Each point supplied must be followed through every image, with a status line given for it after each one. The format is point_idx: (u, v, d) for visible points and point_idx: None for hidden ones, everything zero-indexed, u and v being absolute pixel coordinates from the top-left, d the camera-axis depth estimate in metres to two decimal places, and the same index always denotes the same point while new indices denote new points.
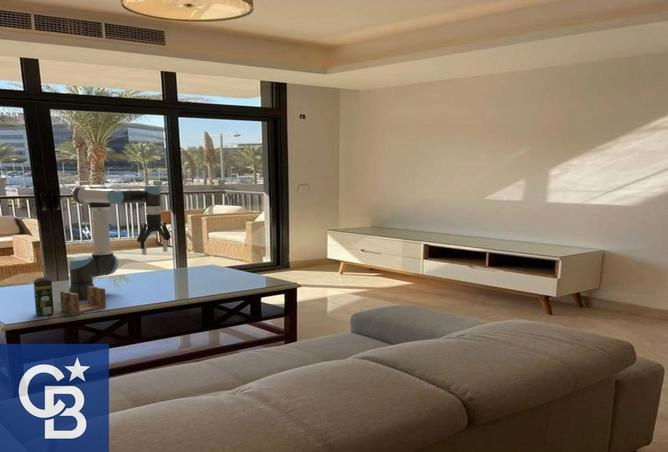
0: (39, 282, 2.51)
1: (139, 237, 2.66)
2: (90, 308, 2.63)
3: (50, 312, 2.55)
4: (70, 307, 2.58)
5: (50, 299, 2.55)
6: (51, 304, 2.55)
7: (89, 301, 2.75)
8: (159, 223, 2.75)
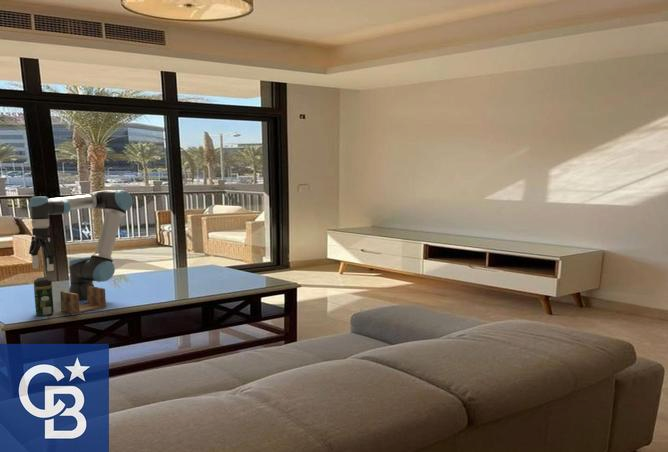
0: (39, 282, 2.51)
1: None
2: (90, 308, 2.63)
3: (50, 312, 2.55)
4: (70, 307, 2.58)
5: (50, 299, 2.55)
6: (51, 304, 2.55)
7: (89, 301, 2.75)
8: (42, 238, 2.51)
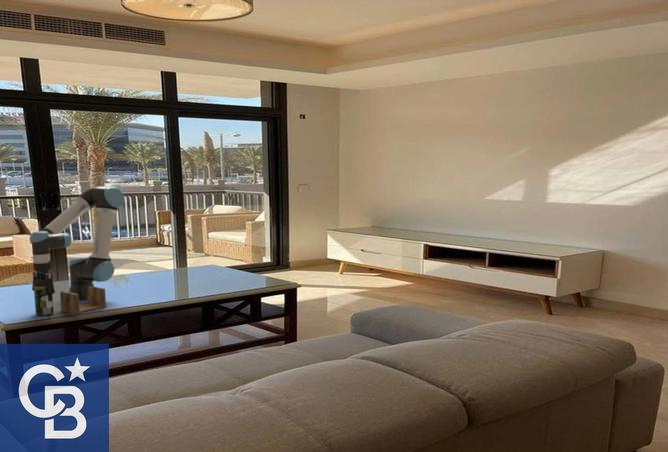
0: (39, 282, 2.51)
1: None
2: (90, 308, 2.63)
3: (50, 312, 2.55)
4: (70, 307, 2.58)
5: None
6: None
7: (89, 301, 2.75)
8: (43, 273, 2.53)
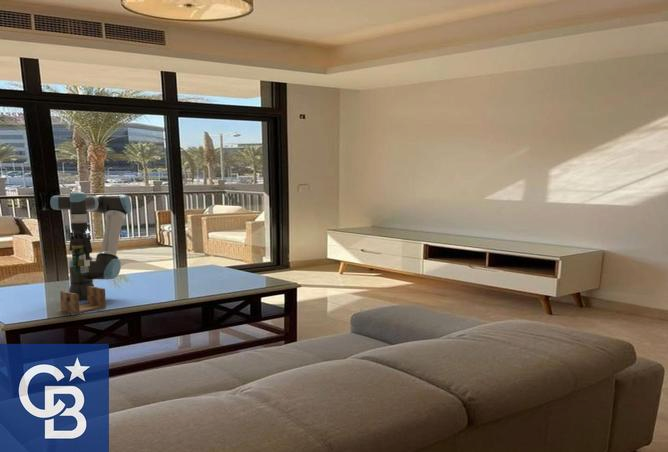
0: (77, 241, 2.58)
1: None
2: (90, 308, 2.63)
3: (87, 271, 2.62)
4: (70, 307, 2.58)
5: None
6: None
7: (89, 301, 2.75)
8: (80, 232, 2.60)
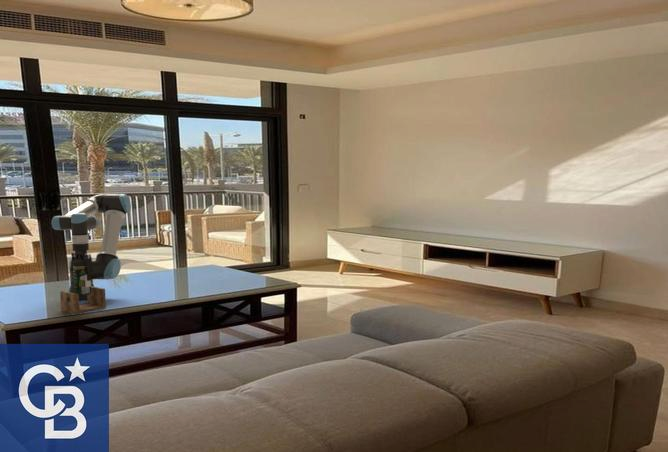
0: (78, 262, 2.59)
1: None
2: (90, 308, 2.63)
3: (88, 291, 2.63)
4: (70, 307, 2.58)
5: None
6: None
7: (89, 301, 2.75)
8: (82, 253, 2.61)
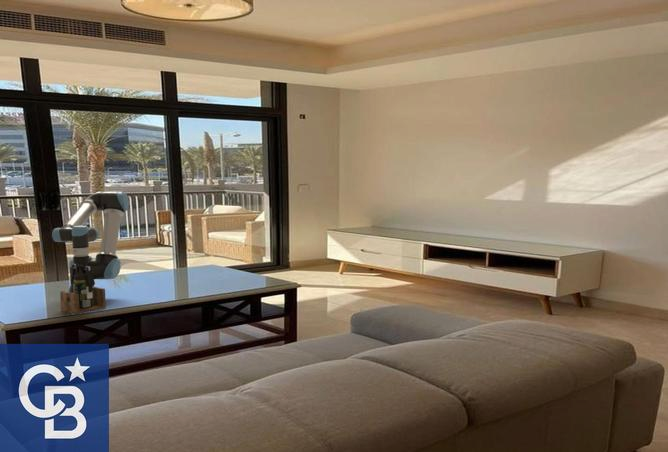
0: (79, 276, 2.60)
1: None
2: (90, 308, 2.63)
3: (89, 305, 2.64)
4: (70, 307, 2.58)
5: None
6: (90, 298, 2.65)
7: None
8: (82, 266, 2.62)
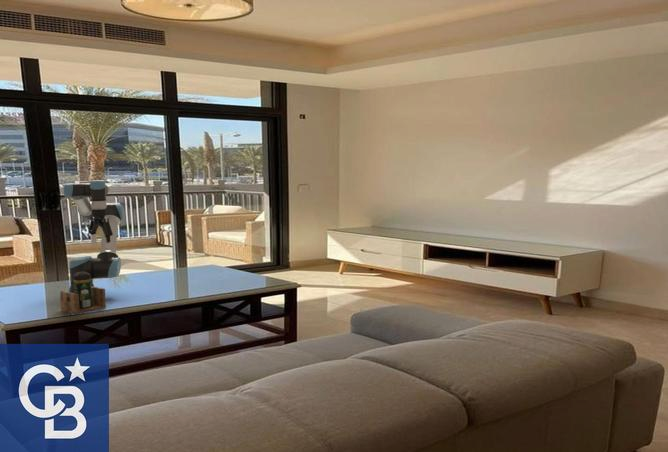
0: (79, 276, 2.60)
1: None
2: (90, 308, 2.63)
3: (89, 305, 2.64)
4: (70, 307, 2.58)
5: (89, 292, 2.64)
6: (90, 298, 2.65)
7: None
8: (100, 218, 2.74)
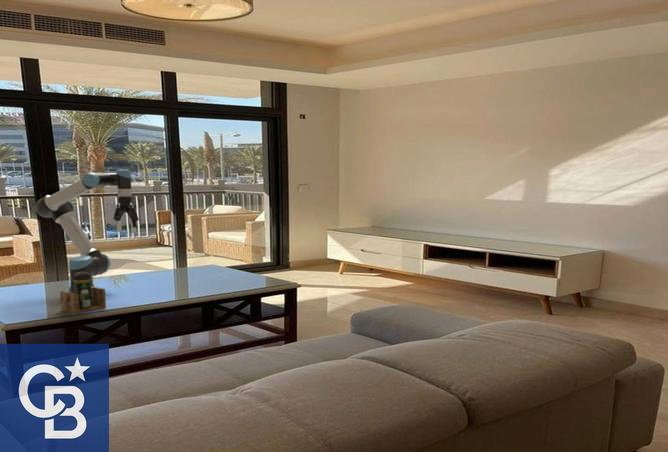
0: (79, 276, 2.60)
1: None
2: (90, 308, 2.63)
3: (89, 305, 2.64)
4: (70, 307, 2.58)
5: (89, 292, 2.64)
6: (90, 298, 2.65)
7: None
8: (126, 205, 2.94)
